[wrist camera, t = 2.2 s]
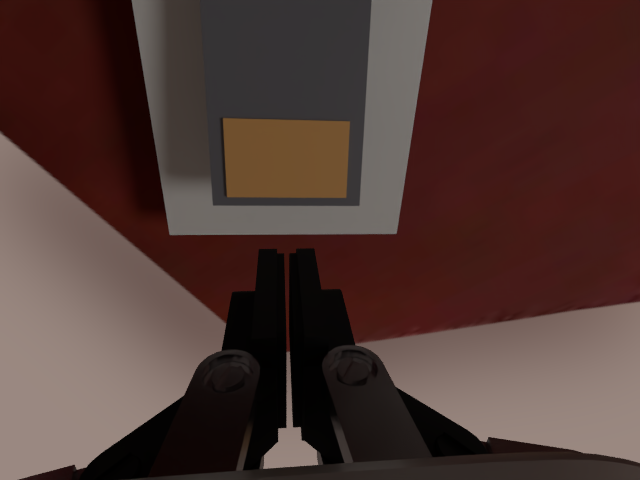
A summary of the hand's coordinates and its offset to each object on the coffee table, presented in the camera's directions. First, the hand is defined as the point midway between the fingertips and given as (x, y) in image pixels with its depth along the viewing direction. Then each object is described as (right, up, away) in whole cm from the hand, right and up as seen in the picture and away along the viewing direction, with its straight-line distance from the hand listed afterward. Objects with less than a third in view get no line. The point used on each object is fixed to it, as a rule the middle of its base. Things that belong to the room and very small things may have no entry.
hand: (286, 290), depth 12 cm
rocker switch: (-1, +10, +8) cm, 13 cm away
